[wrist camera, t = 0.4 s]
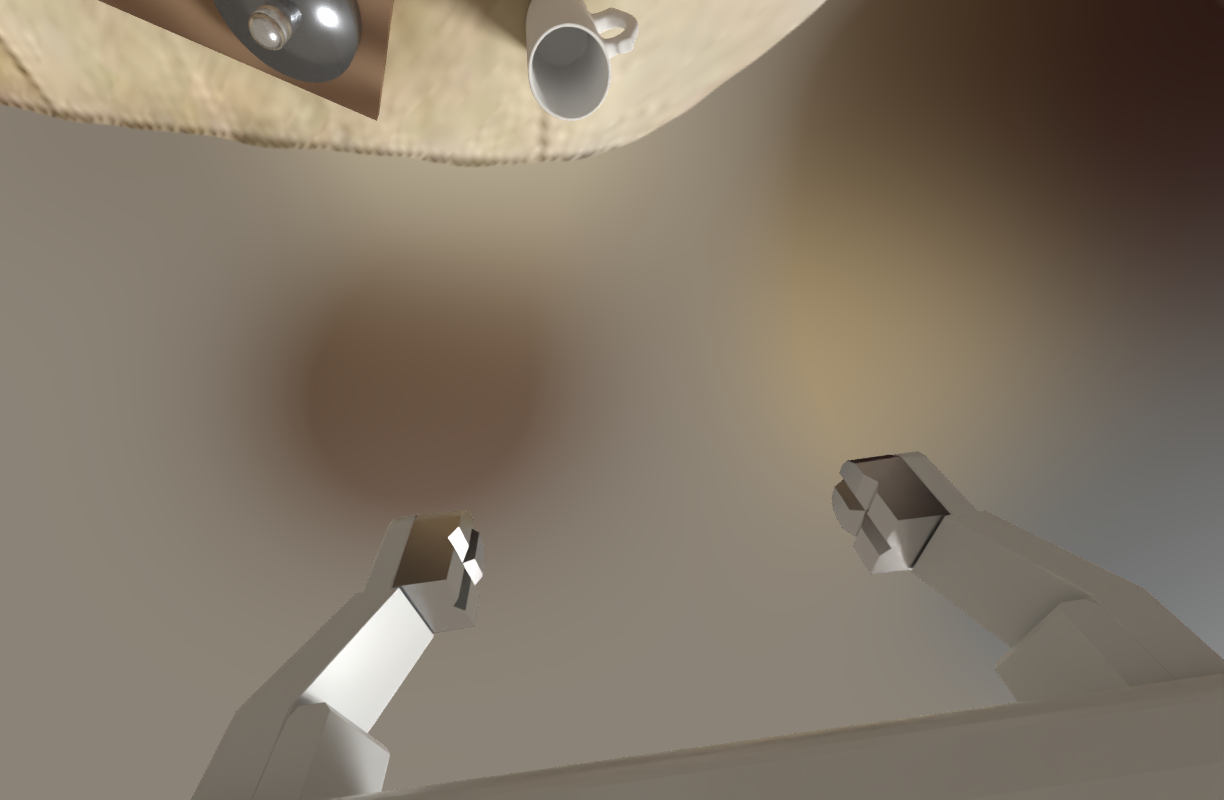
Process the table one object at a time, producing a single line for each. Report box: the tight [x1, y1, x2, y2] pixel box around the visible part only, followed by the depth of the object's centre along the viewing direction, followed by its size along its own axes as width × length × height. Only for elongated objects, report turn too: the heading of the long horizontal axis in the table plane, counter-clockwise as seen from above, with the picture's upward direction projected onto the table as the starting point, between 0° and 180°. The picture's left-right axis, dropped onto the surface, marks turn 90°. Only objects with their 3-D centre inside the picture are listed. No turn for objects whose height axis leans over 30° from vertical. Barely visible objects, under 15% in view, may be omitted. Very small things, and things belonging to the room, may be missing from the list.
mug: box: [526, 0, 639, 121], centre depth 39 cm, size 10×7×12 cm, turn 106°
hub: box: [213, 0, 362, 83], centre depth 34 cm, size 10×10×9 cm
